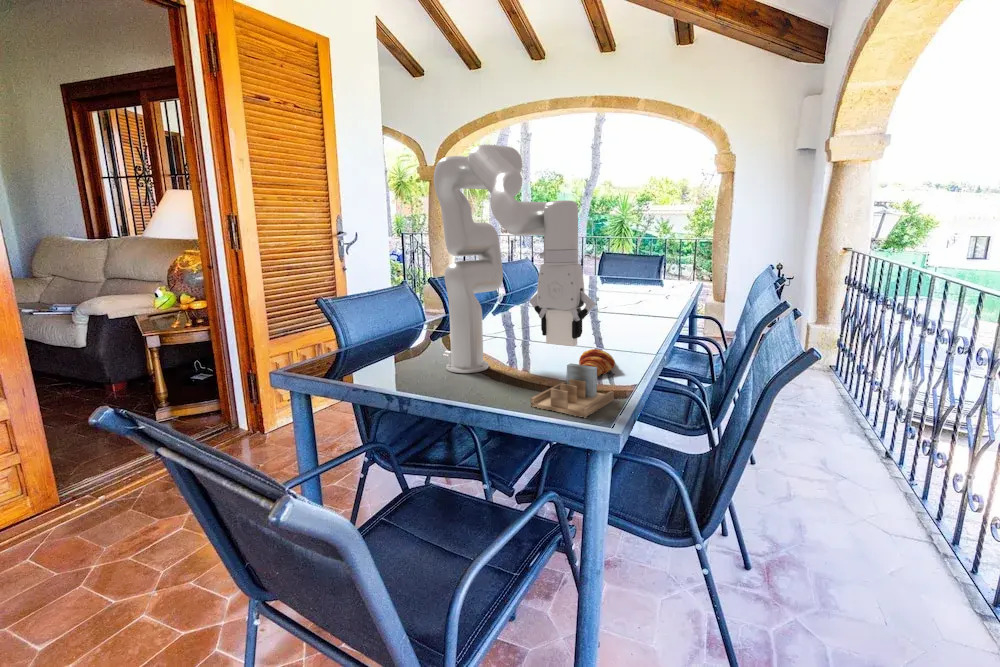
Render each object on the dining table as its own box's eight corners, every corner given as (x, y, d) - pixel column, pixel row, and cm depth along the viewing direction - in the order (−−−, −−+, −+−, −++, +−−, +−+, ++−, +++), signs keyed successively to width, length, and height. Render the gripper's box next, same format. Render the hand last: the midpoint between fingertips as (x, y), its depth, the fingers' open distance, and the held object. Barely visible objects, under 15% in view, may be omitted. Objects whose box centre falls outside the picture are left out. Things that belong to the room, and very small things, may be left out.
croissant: (597, 371, 162) (586, 348, 162) (627, 359, 157) (615, 335, 158) (575, 389, 144) (562, 363, 144) (607, 376, 139) (594, 349, 139)
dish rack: (530, 406, 122) (530, 373, 120) (562, 389, 134) (562, 359, 132) (585, 418, 114) (585, 383, 112) (613, 399, 125) (614, 367, 124)
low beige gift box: (546, 343, 122) (545, 309, 120) (550, 341, 123) (550, 308, 122) (573, 346, 118) (573, 311, 116) (577, 344, 119) (577, 310, 118)
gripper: (519, 258, 118) (520, 335, 122) (589, 259, 109) (589, 342, 112) (536, 256, 125) (537, 330, 128) (604, 257, 115) (603, 336, 118)
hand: (561, 335), depth 120 cm, fingers closed on low beige gift box, 7 cm apart
